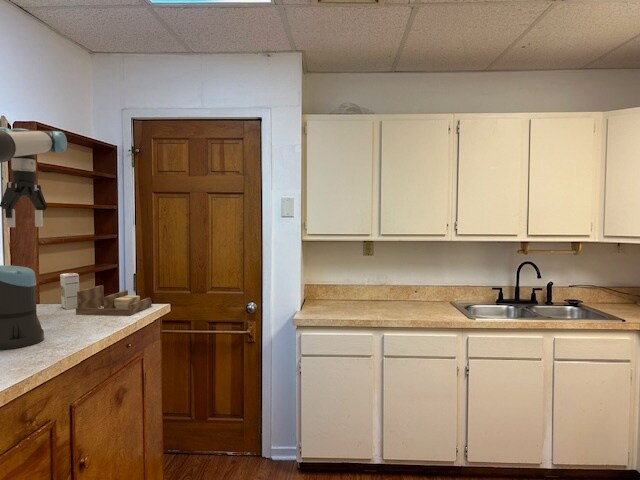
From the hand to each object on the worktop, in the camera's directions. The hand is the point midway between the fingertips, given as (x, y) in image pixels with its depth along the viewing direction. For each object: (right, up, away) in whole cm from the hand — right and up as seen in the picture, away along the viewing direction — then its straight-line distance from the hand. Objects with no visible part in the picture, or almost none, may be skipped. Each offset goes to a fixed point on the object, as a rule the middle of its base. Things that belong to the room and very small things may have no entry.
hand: (25, 226), depth 160 cm
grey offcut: (+34, -35, +13) cm, 50 cm away
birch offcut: (+33, -32, +12) cm, 48 cm away
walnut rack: (+28, -34, +13) cm, 46 cm away
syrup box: (+6, -34, +18) cm, 39 cm away
